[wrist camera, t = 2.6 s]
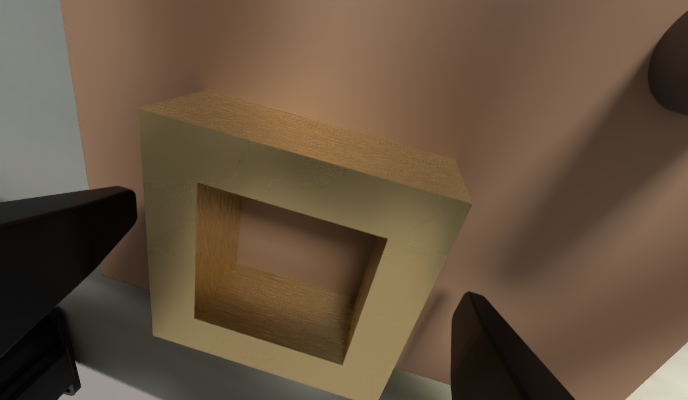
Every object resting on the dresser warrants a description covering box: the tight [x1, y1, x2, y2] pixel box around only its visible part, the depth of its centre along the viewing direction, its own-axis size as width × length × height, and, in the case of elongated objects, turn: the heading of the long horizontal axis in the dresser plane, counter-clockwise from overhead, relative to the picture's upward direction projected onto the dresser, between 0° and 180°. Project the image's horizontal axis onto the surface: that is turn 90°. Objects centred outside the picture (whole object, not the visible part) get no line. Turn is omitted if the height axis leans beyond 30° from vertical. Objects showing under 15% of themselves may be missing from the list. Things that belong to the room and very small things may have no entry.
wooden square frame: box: [138, 90, 473, 400], centre depth 9 cm, size 6×6×2 cm
